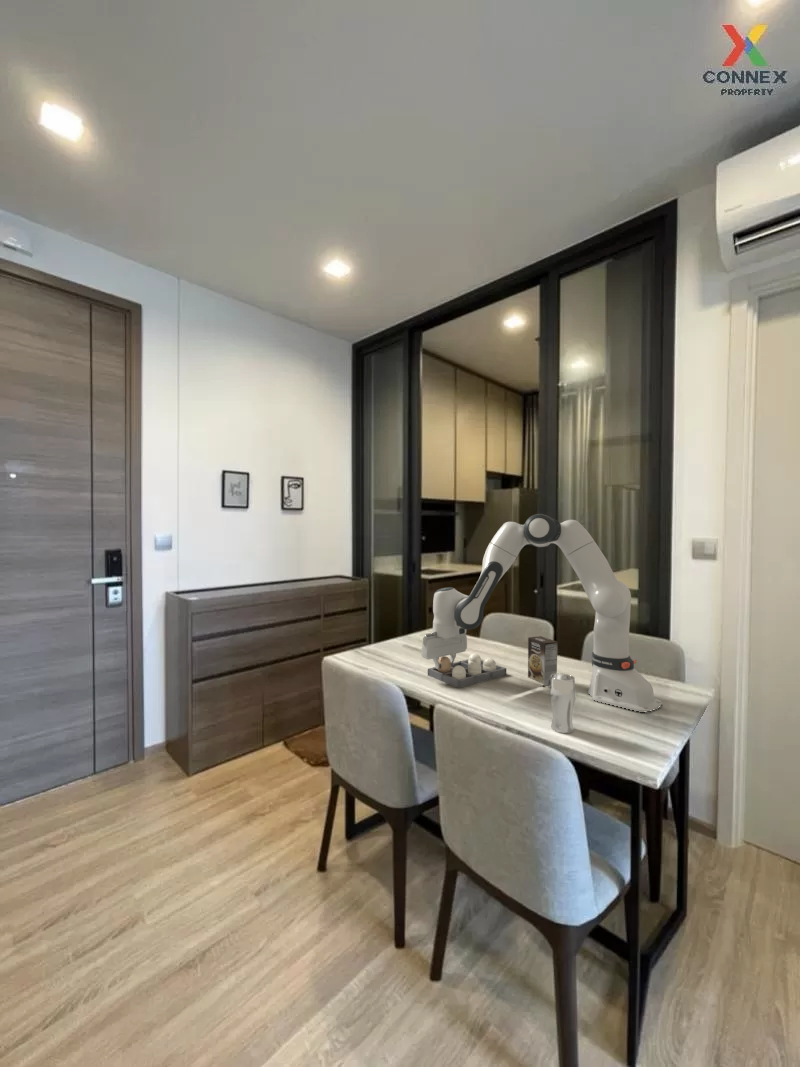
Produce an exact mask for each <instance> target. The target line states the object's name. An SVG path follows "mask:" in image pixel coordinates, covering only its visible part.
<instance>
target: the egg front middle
mask: <svg viewBox="0 0 800 1067" xmlns="http://www.w3.org/2000/svg"><path fill="white" fill-rule="evenodd" d="M468 673H469V674H472V675H478V674H481V665H480V664H479V663H478V662H471V663H470V664H469V666H468Z"/></svg>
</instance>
